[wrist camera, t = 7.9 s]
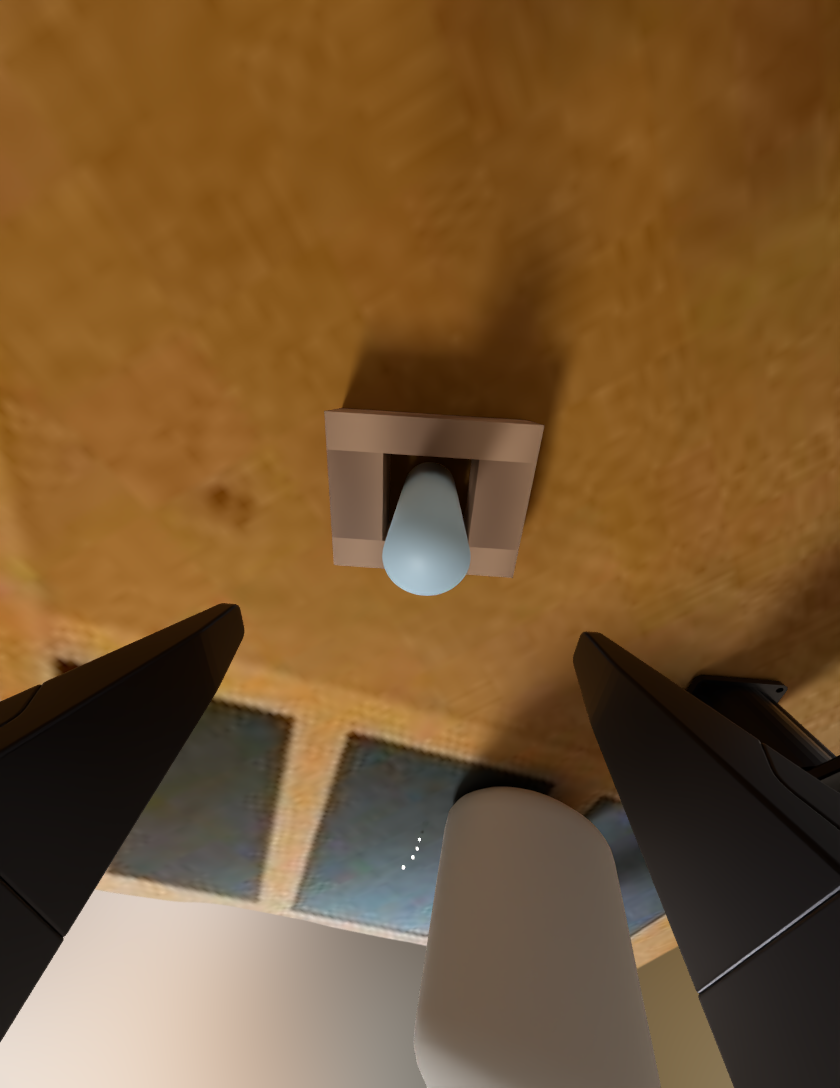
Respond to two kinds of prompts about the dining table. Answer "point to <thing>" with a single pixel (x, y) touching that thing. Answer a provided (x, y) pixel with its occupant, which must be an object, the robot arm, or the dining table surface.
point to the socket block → (491, 443)
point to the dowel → (427, 534)
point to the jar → (529, 954)
